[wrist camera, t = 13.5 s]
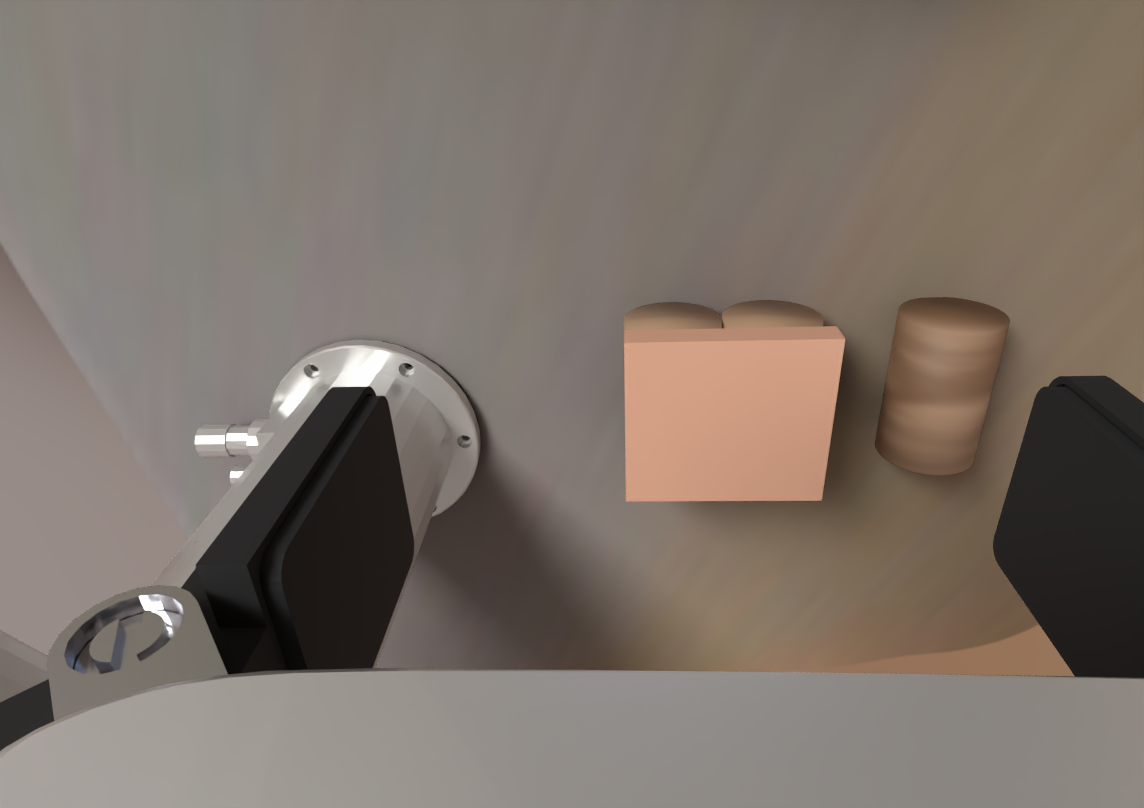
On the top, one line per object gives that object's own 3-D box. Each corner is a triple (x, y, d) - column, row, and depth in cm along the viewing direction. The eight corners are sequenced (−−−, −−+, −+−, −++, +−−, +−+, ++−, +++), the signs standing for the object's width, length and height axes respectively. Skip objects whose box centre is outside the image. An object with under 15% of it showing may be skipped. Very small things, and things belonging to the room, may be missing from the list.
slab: (624, 437, 43) (625, 501, 38) (623, 294, 39) (624, 342, 33) (794, 435, 43) (821, 500, 37) (811, 290, 38) (845, 338, 33)
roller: (885, 298, 39) (918, 334, 34) (983, 296, 38) (1029, 333, 34) (863, 427, 42) (891, 475, 38) (952, 426, 42) (990, 475, 38)
